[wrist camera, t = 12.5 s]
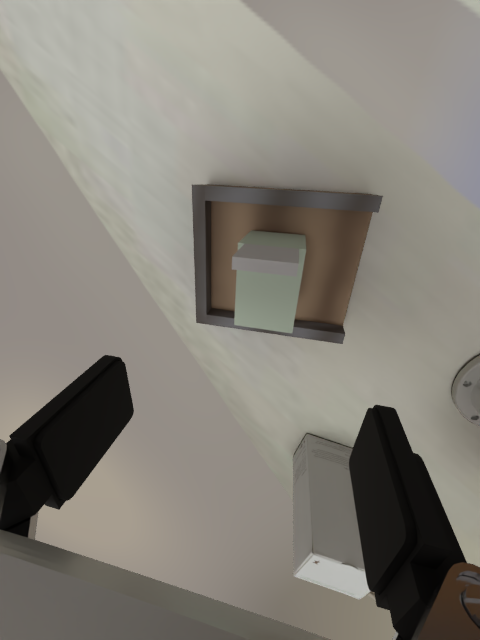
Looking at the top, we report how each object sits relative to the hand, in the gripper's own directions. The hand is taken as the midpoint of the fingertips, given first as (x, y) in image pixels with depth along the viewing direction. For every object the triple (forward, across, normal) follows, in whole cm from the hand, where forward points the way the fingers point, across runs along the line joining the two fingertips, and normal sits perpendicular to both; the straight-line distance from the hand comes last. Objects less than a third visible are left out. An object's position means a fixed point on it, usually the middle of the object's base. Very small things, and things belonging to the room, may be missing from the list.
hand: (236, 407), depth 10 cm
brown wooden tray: (+23, 0, 0) cm, 23 cm away
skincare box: (+23, -10, +30) cm, 39 cm away
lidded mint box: (+20, 0, 0) cm, 20 cm away
